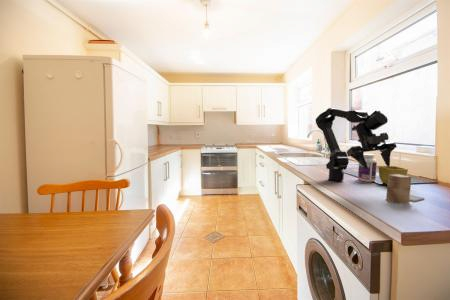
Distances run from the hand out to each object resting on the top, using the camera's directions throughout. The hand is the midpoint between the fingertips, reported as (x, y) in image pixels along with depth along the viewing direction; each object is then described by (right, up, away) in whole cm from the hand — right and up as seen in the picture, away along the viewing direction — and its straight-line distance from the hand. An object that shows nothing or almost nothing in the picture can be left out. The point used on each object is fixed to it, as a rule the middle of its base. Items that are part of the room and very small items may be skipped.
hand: (377, 167), depth 95 cm
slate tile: (+9, -12, -4) cm, 16 cm away
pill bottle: (+11, -9, +26) cm, 30 cm away
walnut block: (+2, -12, -9) cm, 15 cm away
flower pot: (+18, -10, +16) cm, 27 cm away
